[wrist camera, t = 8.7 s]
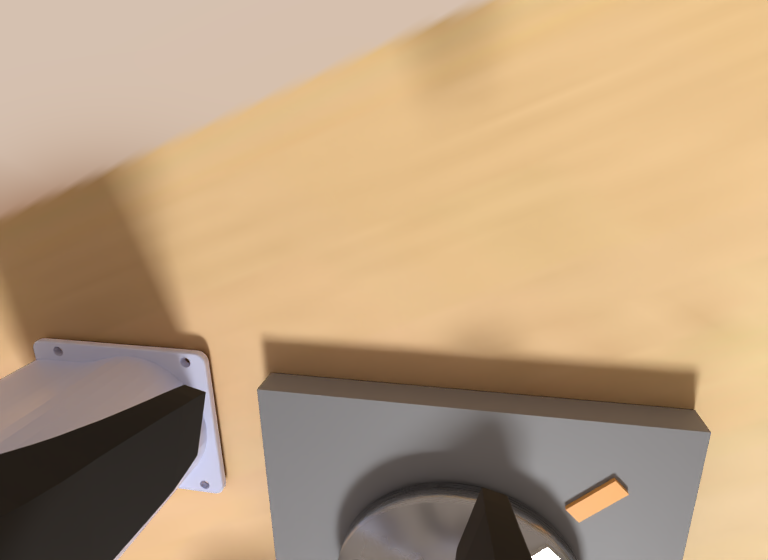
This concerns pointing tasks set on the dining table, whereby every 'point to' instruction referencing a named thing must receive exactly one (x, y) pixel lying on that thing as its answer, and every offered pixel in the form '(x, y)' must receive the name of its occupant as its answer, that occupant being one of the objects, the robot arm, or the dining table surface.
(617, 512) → the dial base
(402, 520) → the dial
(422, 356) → the dining table surface
